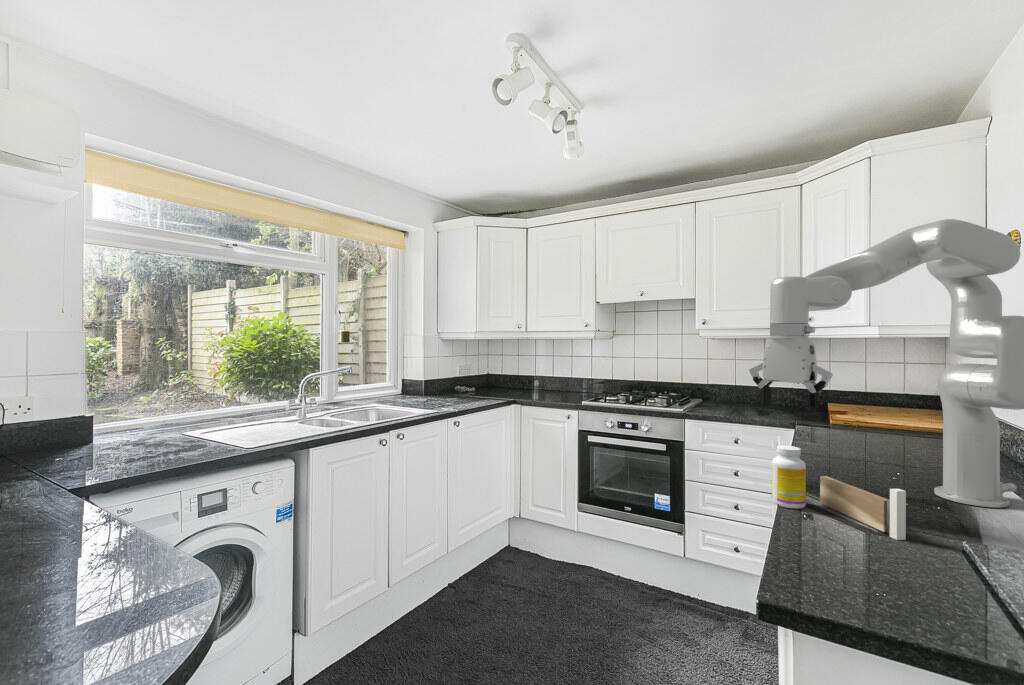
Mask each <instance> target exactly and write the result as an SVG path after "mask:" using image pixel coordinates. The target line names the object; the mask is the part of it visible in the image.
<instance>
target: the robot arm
mask: <svg viewBox="0 0 1024 685" xmlns="http://www.w3.org/2000/svg"><path fill="white" fill-rule="evenodd" d="M1020 258H1021V248H1020V245H1019V244H1018V242H1017V241H1016V240H1015V239H1013V238H1012V237H1011V236H1009V235H1007V234H1005V233H1003V232H999V231H997V230H995V229H994V230H993V229H991V228H987V227H985V226H982V225H979V224H976V223H974V222H968V221H965V220H961V219H955V218H953V219H952V218H947V219H940V220H937V221H932V222H928V223H924V224H921V225H918V226H913V227H911V228H908V229H906V230H902V231H901V232H899V233H897V234H895V235H893V236H891V237H889V238H887V239H885V240H883V241H881V242H880V243H877V244H875V245H873V246H871V247H869V248H867V249H864V250H863V251H860V252H858V253H856V254H854V255H851V256H848V257H846V258H844V259H842V260H840V261H837V262H835V263H833V264H831V265H828V266H826V267H823V268H821V269H818V270H816V271H814V272H812V273H811V274H808V275H806V276H782V277H777V278H774V279H773V280H772V281H771V283H770V287H769V288H770V293H769V296H770V297H769V298H770V299H769V300H770V301H769V304H770V306H769V338H768V337H767V339H766V341H765V346H764V351H763V357H762V358H763V359H762V363H759V364H758V365H755V366H754V367H751V368H750V369H748V370H749V374H750V375H751V377H752V380H753V382H754V383H755V384H756V385H757V387H758V389H759V390H760V396H759V397H760V399H759V400H760V402H761V407H767V406H771V405H772V388H770V386H771V385H772V384H773V383H774V382H777V383H791V384H792V383H793V384H803V385H804V387H805V388H806V389H807V390H808V392H807V393H806V404H805V405H806V408H805V409H806V411H807V412H816V411H817V408H819V393H821V391H822V390H823V389H825V388H826V387H827V386H828V385H829V383H830V381H831V379H832V378H833V376H834V374H833V373H832V372H831V371H829V370H827V369H825V368H823V367H821V366H819V365H818V362H817V355H816V354H817V352H816V347H815V344H814V342H815V341H814V338H809V336H810V334H812V333H813V334H814V333H815V332H816V327H815V326H811V325H810V324H809V322H810V321H809V316H810V312H817V311H831V310H836V309H838V308H841V307H843V306H845V305H846V304H847V303H848V302H849V301H850V299H851V297H852V294H853V292H854V291H859V290H864V289H865V290H866V289H869V288H872V287H873V288H874V287H876V286H879V285H882V284H885V283H886V282H889V281H890V280H892V279H894V278H897V277H898V276H901V275H903V274H905V273H906V272H909V271H910V270H912V269H914V268H916V267H918V266H920V265H923V264H925V266H926V269H927V270H928V273H929V274H930V275H931V276H933V278H935V279H936V280H937V281H939V283H941V284H942V285H943V287H944V288H945V289H946V290H947V291H948V293H949V296H950V302H951V306H950V308H951V310H950V312H951V313H950V324H949V325H950V326H949V347H950V350H951V351H952V352H953V353H954V354H955V355H957V356H960V357H964V358H973V359H992V360H994V359H996V364H990V363H989V364H988V363H956V364H951V365H950V366H947V367H946V368H944V369H943V370H942V371H941V372H940V374H938V377H937V390H938V394H939V397H940V401H941V407H942V408H941V409H942V419H943V420H942V422H943V423H942V427H943V430H942V457H943V458H942V485H939V486H936V487H934V490H933V491H934V494H935V495H936V496H938V497H941V499H945V500H949V501H951V502H952V501H953V502H955V503H960V504H964V505H970V506H976V507H984V508H994V509H995V508H998V509H999V508H1000V509H1001V508H1007V507H1009V506H1010V499H1009V498H1007V497H1005V496H1004V493H1005V492H1006V493H1014V492H1016V491H1017V489H1018V488H1017V487H1018V486H1016V485H1015V483H1013V482H1007V483H1005V482H1002V481H1001V480H1000V478H1001V476H1000V474H1001V472H1000V470H1001V468H1000V467H1001V465H1000V464H1001V462H1000V461H1001V457H1000V456H1001V455H1000V454H1001V453H1000V451H1001V445H1000V443H1001V426H1000V422H999V419H998V417H997V415H996V414H995V412H994V411H993V409H992V408H995V409H996V408H997V409H1005V410H1011V411H1012V410H1016V411H1019V410H1020V411H1021V410H1024V316H1023V315H1003V295H1002V292H1001V290H1000V288H999V287H998V286H997V284H996V283H995V282H994V281H993V280H992V279H991V278H990V277H989V276H993V275H999V274H1004V273H1007V272H1009V271H1010V270H1012V269H1013V268H1014V267H1015V266H1016V265H1017V264H1018V262H1019V261H1020ZM759 372H762V377H763V378H762V377H761V376H760V374H759ZM818 375H820V376H821V378H820V380H819V381H818V382H816V381H817V380H818Z"/></svg>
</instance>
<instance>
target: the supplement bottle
mask: <svg viewBox="0 0 1024 685" xmlns="http://www.w3.org/2000/svg"><path fill="white" fill-rule="evenodd" d="M801 451H802V448H800V447H798V446H792V445H785V444H784V445H777V446H776V452H777V456H776V457H773V459H772V461H771V501H772V502H773V503H774V504H775V505H777V506H778V507H783V508H786V509H803V508H805V507H806V505H807V475H806V474H807V465H806V463H805V461H804V460H803V459H801V458H800V456H801V454H802V452H801ZM778 504H779V505H778Z"/></svg>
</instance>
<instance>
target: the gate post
mask: <svg viewBox="0 0 1024 685" xmlns="http://www.w3.org/2000/svg"><path fill="white" fill-rule="evenodd" d="M889 500H890V534H889V538H892V539H893V540H895V541H903V540H904V541H905V540H906V541H907V534H906V533H907V531H906V530H907V506H906V505H907V491H906V490H905V489H900V488H889Z"/></svg>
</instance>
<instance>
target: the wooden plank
mask: <svg viewBox="0 0 1024 685" xmlns="http://www.w3.org/2000/svg"><path fill="white" fill-rule="evenodd" d="M819 487H820V488H819V502H820V504H822V505H824V506H825V507H828V508H830V509H833V510H835V511H837V512H839V513H841V514H844V515H845V516H848V517H850V518H852V519H854V520H856V521H859V522H861V523H862V524H865V525H867V526H870V527H872V528H874V529H877V530H878V531H880V532H883V533H886V534H887V535H890V498H889V499H888V498H886V497H882V496H881V495H878V494H875V493H872V492H870V491H867V490H865V489H862V488H859V487H856V486H854V485H851V484H848V483H845V482H843V481H841V480H837V479H835V478H832V477H830V476H826V475H825V476H823V475H820V476H819Z"/></svg>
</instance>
